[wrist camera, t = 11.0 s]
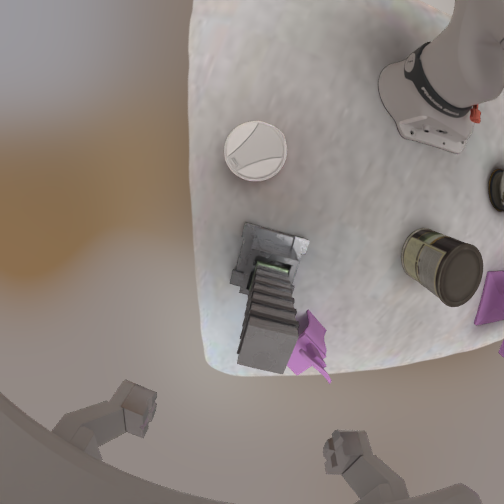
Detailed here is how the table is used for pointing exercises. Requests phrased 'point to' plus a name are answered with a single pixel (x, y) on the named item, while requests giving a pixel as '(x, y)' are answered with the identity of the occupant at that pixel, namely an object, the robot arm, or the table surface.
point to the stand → (266, 253)
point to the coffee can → (443, 265)
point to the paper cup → (255, 151)
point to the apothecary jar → (497, 189)
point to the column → (268, 320)
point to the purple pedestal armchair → (492, 301)
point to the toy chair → (310, 349)
